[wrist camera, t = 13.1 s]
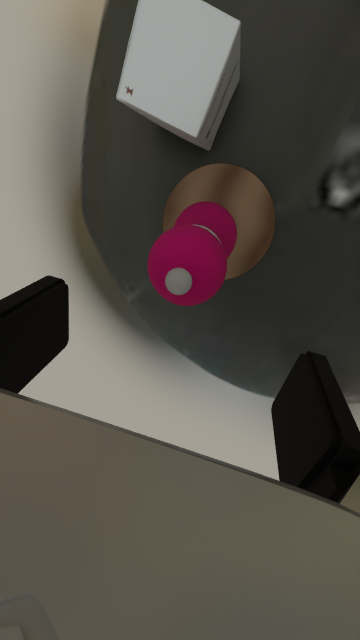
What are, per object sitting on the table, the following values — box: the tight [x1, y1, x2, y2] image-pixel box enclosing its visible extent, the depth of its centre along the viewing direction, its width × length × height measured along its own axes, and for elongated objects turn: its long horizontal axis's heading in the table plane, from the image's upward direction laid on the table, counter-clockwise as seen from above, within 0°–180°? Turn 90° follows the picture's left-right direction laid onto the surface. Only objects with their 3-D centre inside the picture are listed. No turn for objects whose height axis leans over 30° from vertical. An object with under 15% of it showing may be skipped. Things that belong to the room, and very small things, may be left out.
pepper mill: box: [148, 201, 237, 306], centre depth 25 cm, size 7×7×20 cm
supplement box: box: [116, 0, 241, 151], centre depth 25 cm, size 7×7×13 cm
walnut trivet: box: [163, 163, 275, 280], centre depth 35 cm, size 14×14×2 cm
